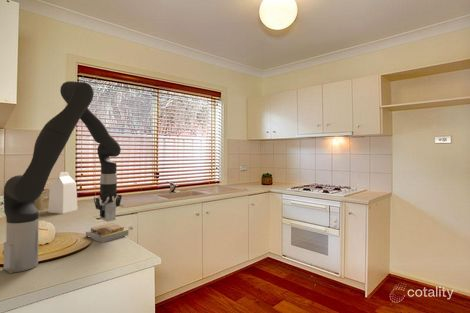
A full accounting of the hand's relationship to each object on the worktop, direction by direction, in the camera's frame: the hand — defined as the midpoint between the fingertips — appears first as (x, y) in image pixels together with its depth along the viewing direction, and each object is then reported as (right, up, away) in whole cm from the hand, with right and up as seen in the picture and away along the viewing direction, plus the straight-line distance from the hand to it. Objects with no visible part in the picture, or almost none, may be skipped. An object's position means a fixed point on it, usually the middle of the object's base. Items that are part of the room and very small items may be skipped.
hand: (107, 216), depth 134 cm
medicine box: (0, -2, 0) cm, 2 cm away
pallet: (0, -7, 0) cm, 7 cm away
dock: (0, -10, 0) cm, 10 cm away
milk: (-52, -7, +46) cm, 70 cm away
